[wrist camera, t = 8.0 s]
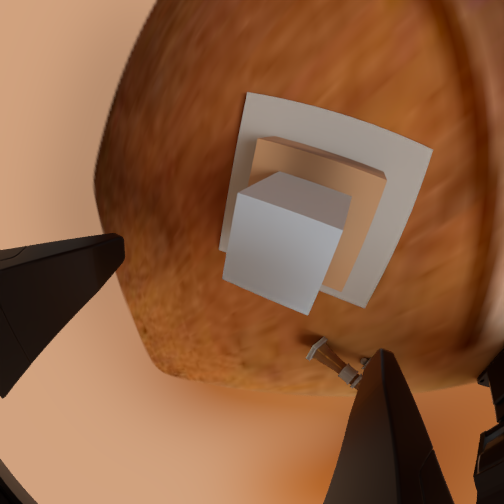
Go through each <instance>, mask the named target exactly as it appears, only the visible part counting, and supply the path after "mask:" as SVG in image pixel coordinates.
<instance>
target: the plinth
mask: <svg viewBox="0 0 504 504" xmlns="http://www.w3.org/2000/svg"><path fill="white" fill-rule="evenodd" d="M279 171H280V172H283V173H286V174H289V175H293V176H296V177H299V178H302V179H305V180H308V181H311V182H313V183H316V184H319V185H322V186H325V187H328V188H330V189H333V190H336V191H339V192H341V193H344V194H347V195H349V196H352V198H351V202H350V206H349V210H348V214H347V218H346V221H345V225H344V229H343V232H342V235H341V237H340V240H339V242H338V245H337V248H336V250H335V253H334V255H333V258H332V260H331V263H330V265H329V268H328V270H327V272H326V275H325V277H324V280H323V282H322V285H325V286H327V287H330V288H332V289H335V290H337V291H340V292H342V290H343V288H344V286H345V284H346V281H347V279H348V277H349V275H350V273H351V271H352V268H353V266H354V264H355V262H356V259H357V257H358V255H359V252H360V250H361V248H362V245H363V243H364V240H365V238H366V236H367V233H368V231H369V228H370V226H371V223H372V221H373V218H374V215H375V213H376V210H377V207H378V205H379V202H380V199H381V197H382V194H383V191H384V188H385V185H386V182H387V179H386V176H385V174H384V172H383V171H381V170H378V169H376V168H373V167H370V166H368V165H365V164H363V163H360V162H357V161H354V160H352V159H349V158H346V157H343V156H340V155H337V154H334V153H331V152H328V151H325V150H322V149H319V148H316V147H312V146H309V145H306V144H302V143H299V142H295V141H292V140H288V139H285V138H281V137H277V136H272V137H263V138H258V139H257V144H256V149H255V153H254V158H253V163H252V168H251V173H250V178H249V183H248V187H249V186H251V185H253V184H255V183H257V182H259V181H261V180H263V179H265V178H267V177H269V176H271V175H273V174H275V173H277V172H279Z"/></svg>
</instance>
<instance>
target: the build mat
mask: <svg viewBox="0 0 504 504" xmlns="http://www.w3.org/2000/svg"><path fill="white" fill-rule="evenodd" d="M272 136H277V137H281V138H285V139H288V140H292V141H295V142H299V143H302V144H306V145H309V146H312V147H316V148H319V149H322V150H325V151H328V152H331V153H334V154H337V155H340V156H343V157H346V158H349V159H352V160H354V161H357V162H360V163H363V164H365V165H368V166H370V167H373V168H376V169H378V170H381V171H383V172H384V174H385V176H386V179H387V182H386V185H385V188H384V191H383V194H382V197H381V199H380V202H379V205H378V207H377V210H376V213H375V215H374V218H373V221H372V223H371V226H370V228H369V231H368V233H367V236H366V238H365V240H364V243H363V245H362V248H361V250H360V252H359V255H358V257H357V259H356V262H355V264H354V266H353V268H352V271H351V273H350V275H349V277H348V279H347V281H346V284H345V286H344V288H343V290H342V292H340V291H337V290H335V289H332V288H330V287H327V286H325V285H322V284H321V287H320V289H319V291H322V292H324V293H327V294H329V295H332V296H334V297H337V298H339V299H342V300H344V301H347V302H349V303H352V304H355V305H357V306H360V307H362V308H365V307H366V305H367V303H368V301H369V299H370V297H371V296H372V294H373V292H374V290H375V288H376V286H377V284H378V282H379V280H380V279H381V277H382V275H383V273H384V271H385V269H386V267H387V265H388V262H389V260H390V258H391V256H392V254H393V252H394V250H395V248H396V246H397V243H398V241H399V239H400V237H401V234H402V232H403V230H404V227H405V225H406V223H407V220H408V218H409V216H410V213H411V211H412V208H413V206H414V203H415V200H416V198H417V195H418V193H419V190H420V187H421V184H422V182H423V179H424V176H425V173H426V170H427V167H428V164H429V161H430V158H431V155H432V151H433V150H432V149H430V148H428V147H426V146H424V145H422V144H419V143H417V142H415V141H413V140H410V139H408V138H406V137H403V136H401V135H399V134H396V133H394V132H391V131H389V130H386V129H383V128H381V127H378V126H375V125H373V124H370V123H367V122H364V121H361V120H358V119H355V118H352V117H349V116H346V115H343V114H339V113H336V112H333V111H329V110H326V109H322V108H319V107H315V106H311V105H307V104H303V103H299V102H295V101H290V100H286V99H281V98H277V97H272V96H266V95H261V94H255V93H249V92H247V96H246V101H245V106H244V111H243V116H242V121H241V126H240V131H239V136H238V141H237V146H236V152H235V157H234V162H233V168H232V173H231V179H230V185H229V190H228V196H227V202H226V208H225V214H224V220H223V226H222V232H221V238H220V245H219V250H221V251H223V252H226V253H227V248H228V243H229V237H230V232H231V226H232V221H233V215H234V210H235V205H236V199H237V194H238V192H240V191H242V190H244V189H246V188H248V183H249V178H250V173H251V168H252V163H253V158H254V153H255V149H256V144H257V139H258V138H263V137H272Z"/></svg>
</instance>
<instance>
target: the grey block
mask: <svg viewBox="0 0 504 504" xmlns="http://www.w3.org/2000/svg"><path fill="white" fill-rule="evenodd" d="M351 198H352V196H349V195H347V194H344V193H341V192H339V191H336V190H333V189H330V188H328V187H325V186H322V185H319V184H316V183H313V182H311V181H308V180H305V179H302V178H299V177H296V176H293V175H289V174H286V173H283V172H280V171H279V172H277V173H275V174H273V175H271V176H269V177H267V178H265V179H263V180H261V181H259V182H257V183H255V184H253V185H251V186H249V187H248V188H246V189H244V190H242V191H240V192H238V194H237V199H236V205H235V210H234V215H233V221H232V226H231V232H230V237H229V243H228V248H227V254H226V260H225V265H224V271H223V277H222V279H223V280H226V281H228V282H230V283H232V284H235V285H237V286H239V287H241V288H244V289H246V290H248V291H251V292H253V293H255V294H258V295H260V296H262V297H265V298H267V299H269V300H272V301H274V302H276V303H279V304H281V305H283V306H286V307H288V308H291V309H293V310H295V311H298V312H300V313H303V314H305V315H308V314H309V312H310V310H311V307H312V305H313V303H314V301H315V298H316V296H317V294H318V291H319V289H320V287H321V284H322V282H323V280H324V277H325V275H326V272H327V270H328V268H329V265H330V263H331V260H332V258H333V255H334V253H335V250H336V248H337V245H338V242H339V240H340V237H341V235H342V232H343V229H344V225H345V221H346V218H347V214H348V210H349V206H350V202H351Z"/></svg>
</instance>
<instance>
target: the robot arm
mask: <svg viewBox="0 0 504 504" xmlns="http://www.w3.org/2000/svg"><path fill="white" fill-rule="evenodd" d="M124 259H125V247H124V239H123V237H122V236H120V235H118V234H116V233H110V234H102V235H95V236H88V237H82V238H75V239H67V240H61V241H55V242H49V243H43V244H36V245H30V246H24V247H18V248H12V249H6V250H0V396H1V398H4V397H6V395H7V394H8V393H9V391H10V390H11V389H12V388H13V386H14V385H15V384H16V382H17V381H18V380H19V378H20V377H21V376H22V375H23V374H24V372H25V371H26V370H27V369H28V368H29V366H30V365H31V363H32V362H33V361H34V360H35V359H36V358H37V357H38V355H39V354H40V353H41V352H42V351H43V349H44V348H45V347H46V346H47V345H48V344H49V343H50V342H51V341H52V339H53V338H54V337H55V336H56V335H57V334H58V333H59V332H60V331H61V329H62V328H63V327H64V326H65V325H66V324H67V323H68V322H69V321H70V320H71V319H72V318H73V317H74V316H75V314H77V313H78V311H79V310H80V309H81V308H82V307H83V306H84V305H85V304H86V303H87V302H88V301H89V300H90V299H91V298H92V297H93V296H94V295H95V294H96V293H97V292H98V291H99V290H100V289H101V287H102V286H103V285H104V284H105V283H106V282H107V280H108V279H109V278H110V277H111V276H112V275H113V273H114V272H115V271H116V270H117V269H118V268H119V267H120V265H121V264H122V263H123V261H124ZM477 382H478V384H480V385H483V386H487V387H490V390H491V395H492V400H493V404H494V406H495V413H496V420H497V422H498V423H499V424H497V425H496V426H494V427H493V428H491V429H489V430H488V431H484V432H483V433H481V434H480V442H479V448H478V454H477V460H476V465H475V470H474V475H473V477H474V482H475V486H476V489H477V502H476V504H504V349H503V350H502V351H501V353H500V354H499V355H498V356H497V357H496V359H495V360H494V361H493V362H492V363H491V364H490V365H489V366H488V367H487V369H486V370H485V371H484V372H483V373H482V374H481V375H480V376H479V377H478V378H477ZM432 449H433V446H432V443H431V441H430V438H429V435H428V433H427V430H426V427H425V425H424V422H423V420H422V417H421V415H420V413H419V410H418V408H417V405H416V403H415V400H414V398H413V396H412V393H411V391H410V389H409V386H408V384H407V382H406V380H405V378H404V375H403V373H402V371H401V369H400V367H399V365H398V362H397V360H396V358H395V356H394V354H393V353H392V352H391V351H388V350H385V349H379V350H378V351H377V352H376V354H375V355H374V356H373V358H372V359H371V360H370V361H369V363H368V364H367V366H366V367H365V369H364V372H363V375H362V379H361V382H360V385H359V388H358V391H357V395H356V398H355V401H354V404H353V406H352V409H351V413H350V416H349V420H348V424H347V428H346V432H345V436H344V440H343V443H342V447H341V451H340V454H339V458H338V461H337V465H336V468H335V471H334V474H333V477H332V480H331V483H330V486H329V489H328V492H327V495H326V498H325V500H324V503H323V504H454V501H453V499H452V496H451V494H450V491H449V489H448V487H447V484H446V481H445V479H444V476H443V474H442V471H441V468H440V465H439V463H438V460H437V457H436V454H435V451H434V450H432ZM0 504H38V503H37V502H36V501H35V500H34V499H33V498H32V497H31V496H30V495H29V494H28V493H27V491H26V490H25V489H24V488H23V487H22V486H21V484H20V483H19V482H18V481H17V480H16V479H15V477H14V476H13V475H12V474H11V472H10V471H9V470H8V468H7V467H6V466H5V465H4V463H3V462H2V460H1V459H0Z"/></svg>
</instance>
